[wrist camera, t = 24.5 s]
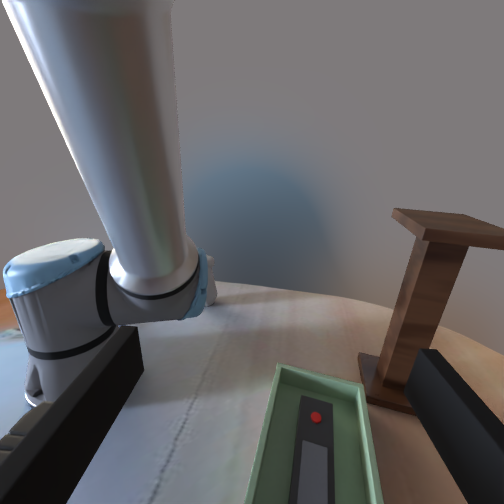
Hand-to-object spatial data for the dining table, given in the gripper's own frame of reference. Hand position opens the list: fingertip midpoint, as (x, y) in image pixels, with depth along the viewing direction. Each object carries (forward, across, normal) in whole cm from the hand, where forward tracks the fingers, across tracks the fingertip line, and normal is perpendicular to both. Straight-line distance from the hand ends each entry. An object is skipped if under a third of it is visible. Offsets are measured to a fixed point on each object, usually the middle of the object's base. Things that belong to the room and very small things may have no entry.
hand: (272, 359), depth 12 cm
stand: (+24, +24, -28) cm, 44 cm away
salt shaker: (+46, -15, -28) cm, 56 cm away
